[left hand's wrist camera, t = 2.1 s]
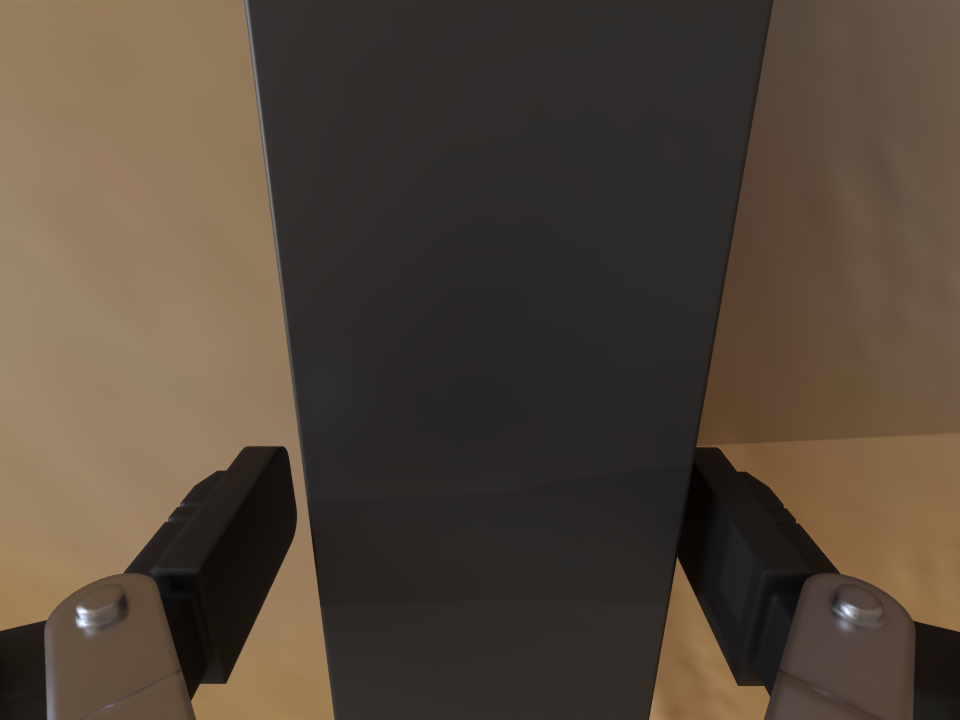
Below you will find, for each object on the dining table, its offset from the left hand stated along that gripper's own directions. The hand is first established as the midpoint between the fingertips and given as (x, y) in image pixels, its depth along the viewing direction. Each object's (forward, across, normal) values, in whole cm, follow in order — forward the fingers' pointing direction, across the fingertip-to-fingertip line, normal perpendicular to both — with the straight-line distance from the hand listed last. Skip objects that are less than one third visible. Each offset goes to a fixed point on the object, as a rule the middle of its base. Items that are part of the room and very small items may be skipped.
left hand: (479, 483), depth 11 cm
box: (+8, 0, -6) cm, 10 cm away
